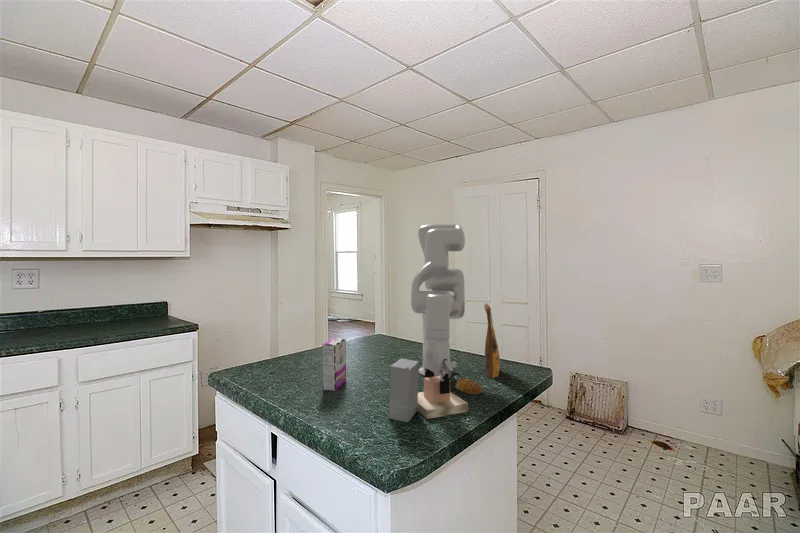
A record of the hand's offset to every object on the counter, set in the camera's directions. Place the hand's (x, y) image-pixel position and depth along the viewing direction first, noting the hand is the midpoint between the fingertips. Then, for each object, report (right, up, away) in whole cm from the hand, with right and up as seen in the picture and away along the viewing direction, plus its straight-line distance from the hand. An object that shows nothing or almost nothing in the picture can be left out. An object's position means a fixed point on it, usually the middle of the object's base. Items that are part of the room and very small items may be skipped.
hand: (436, 388), depth 117 cm
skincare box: (-10, -6, -7) cm, 14 cm away
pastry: (+13, -6, +15) cm, 21 cm away
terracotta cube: (0, -3, 0) cm, 3 cm away
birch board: (0, -6, 0) cm, 6 cm away
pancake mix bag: (+26, -6, +36) cm, 45 cm away
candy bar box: (-35, -5, +19) cm, 40 cm away
